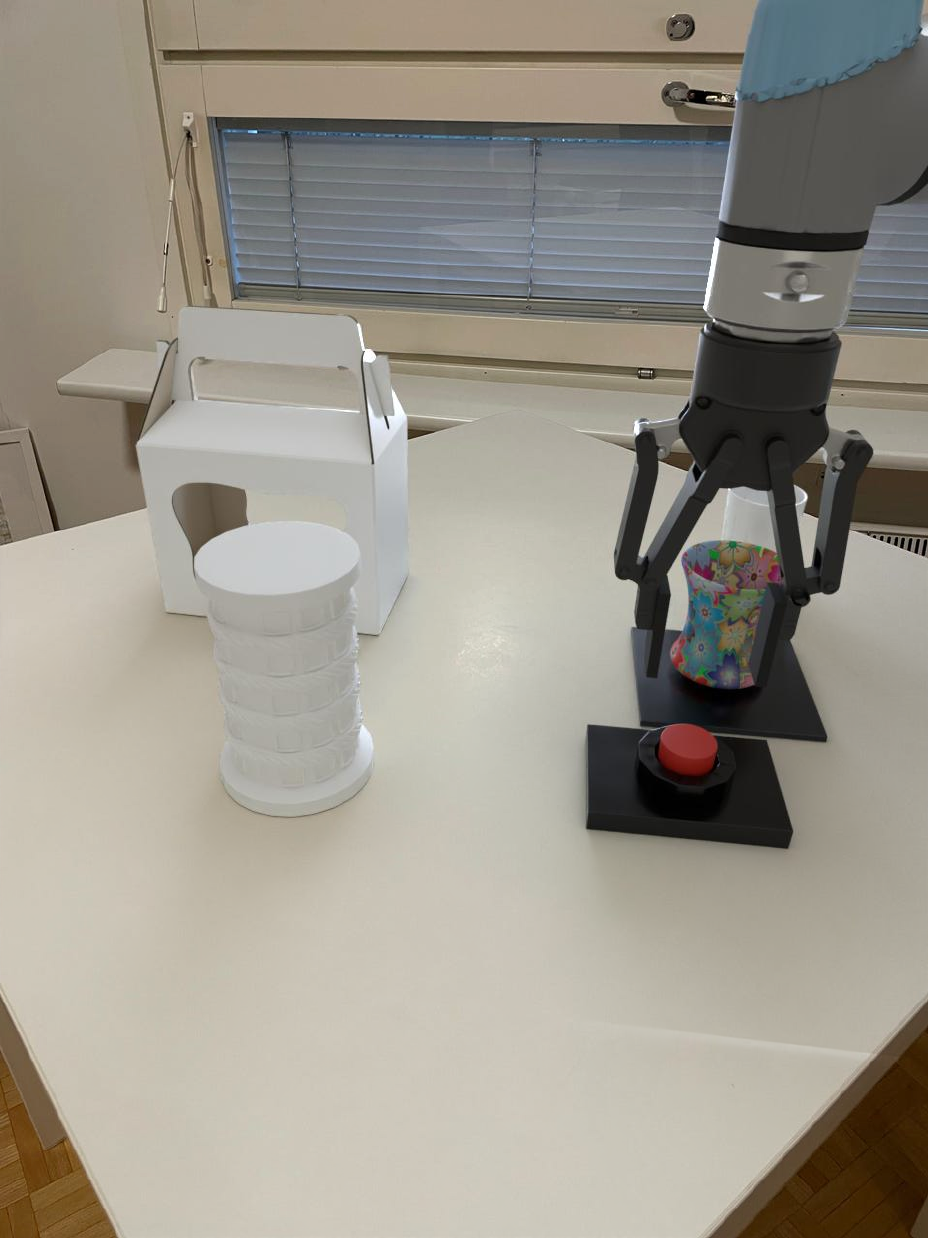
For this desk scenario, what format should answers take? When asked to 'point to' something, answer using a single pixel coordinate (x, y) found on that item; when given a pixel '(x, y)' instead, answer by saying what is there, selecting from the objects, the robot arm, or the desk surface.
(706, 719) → the plate
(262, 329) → the gable box
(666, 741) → the button
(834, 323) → the robot arm
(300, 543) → the decorative container
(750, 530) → the white cup
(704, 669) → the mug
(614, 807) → the control block
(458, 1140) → the desk surface
